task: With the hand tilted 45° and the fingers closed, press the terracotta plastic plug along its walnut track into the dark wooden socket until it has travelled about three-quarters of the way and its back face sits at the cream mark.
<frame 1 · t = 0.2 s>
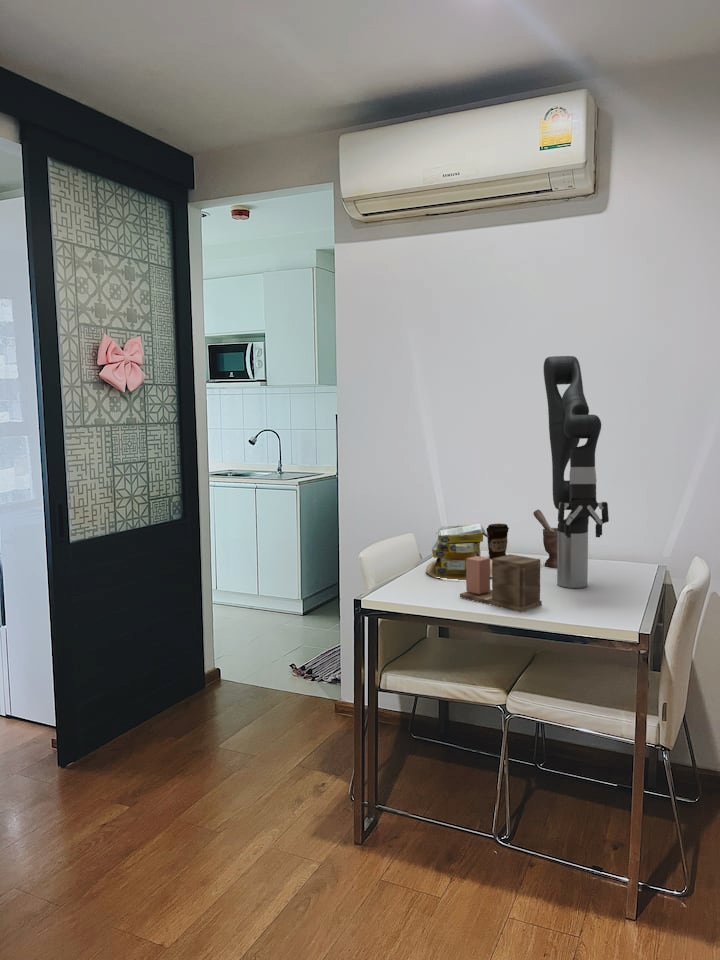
hand: (583, 537, 215), 18 cm above the table, tool pointing down, fingers open, 8 cm apart
terracotta plug: (478, 574, 218), point 7 cm above the table, slide at 0.0 cm
stacked packages on board: (462, 573, 250), on the table
mortar and pestle: (550, 566, 258), on the table
coffee cup: (497, 559, 271), on the table
walnut socket base: (497, 600, 214), on the table
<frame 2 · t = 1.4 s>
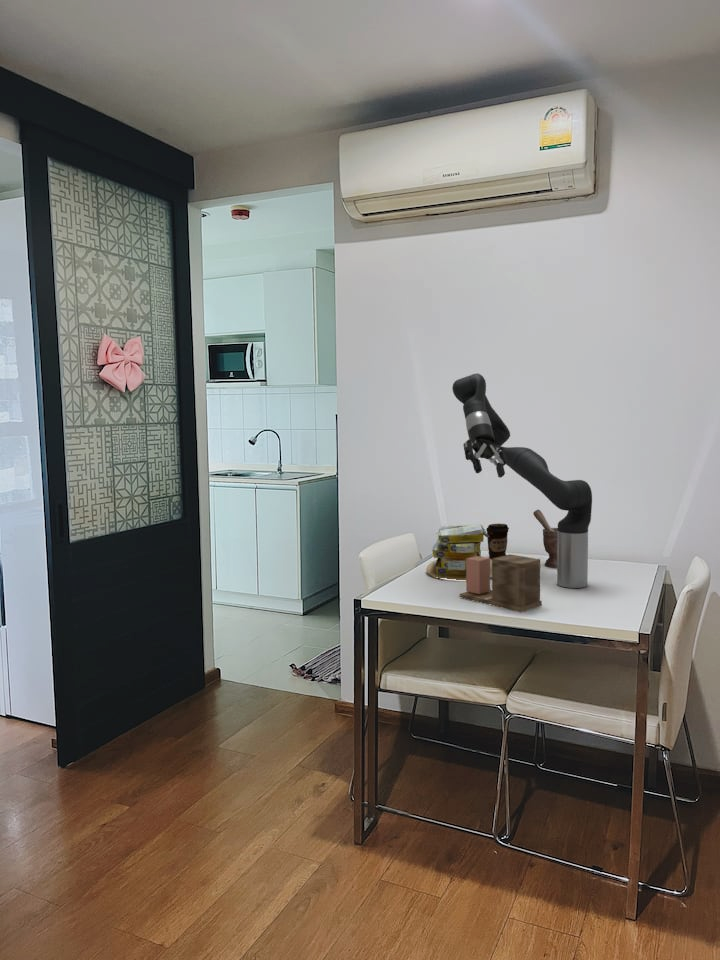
hand: (490, 474, 217), 37 cm above the table, tool tilted 35°, fingers open, 8 cm apart
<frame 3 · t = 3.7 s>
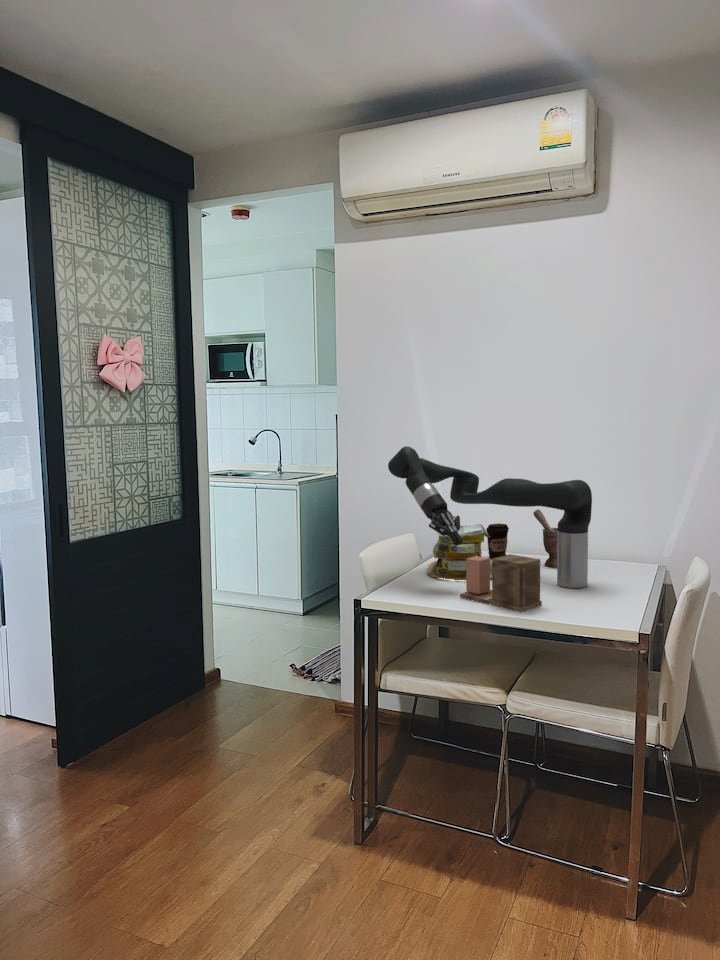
hand: (459, 543, 222), 15 cm above the table, tool tilted 45°, fingers closed
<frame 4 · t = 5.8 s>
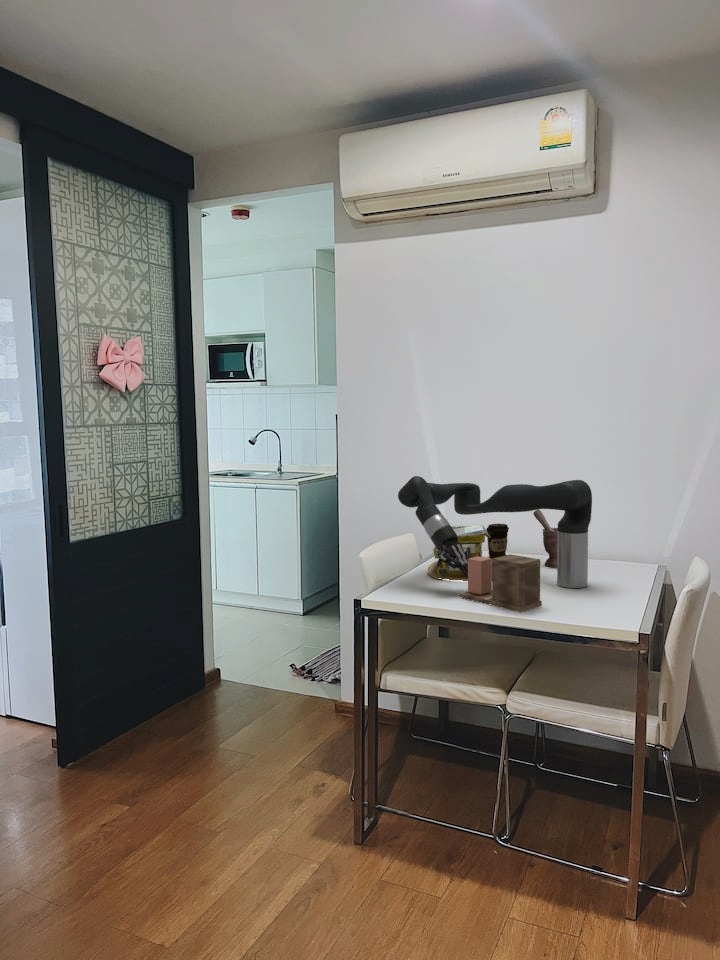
hand: (470, 576, 220), 6 cm above the table, tool tilted 45°, fingers closed
terracotta plug: (479, 575, 218), point 7 cm above the table, slide at 0.6 cm, touching gripper
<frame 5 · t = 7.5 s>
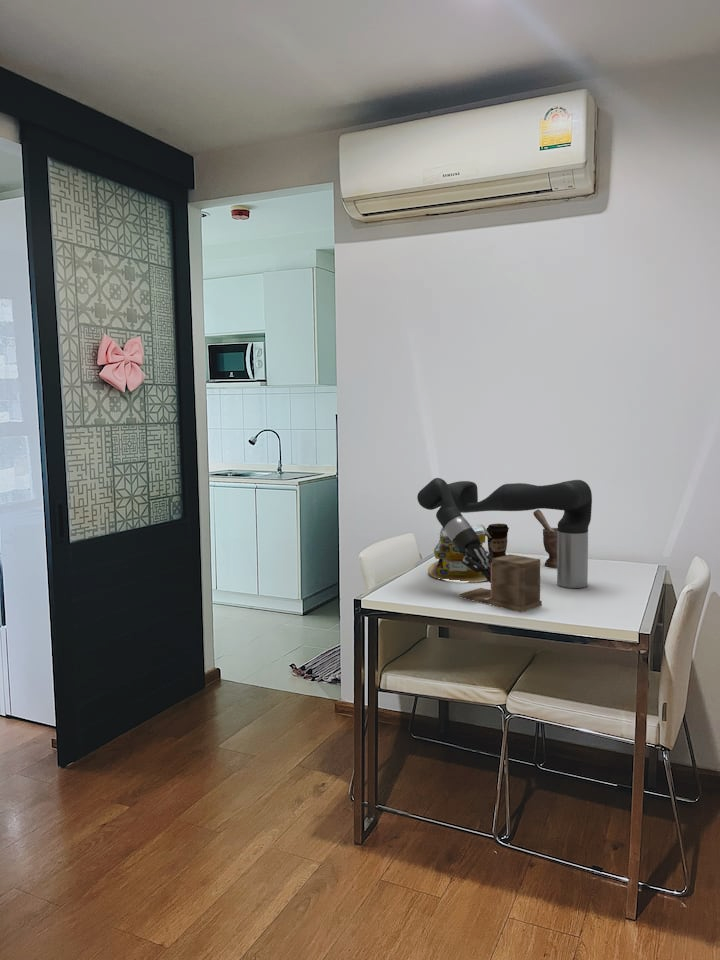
hand: (493, 580, 214), 6 cm above the table, tool tilted 45°, fingers closed
terracotta plug: (502, 579, 211), point 7 cm above the table, slide at 9.2 cm, touching gripper
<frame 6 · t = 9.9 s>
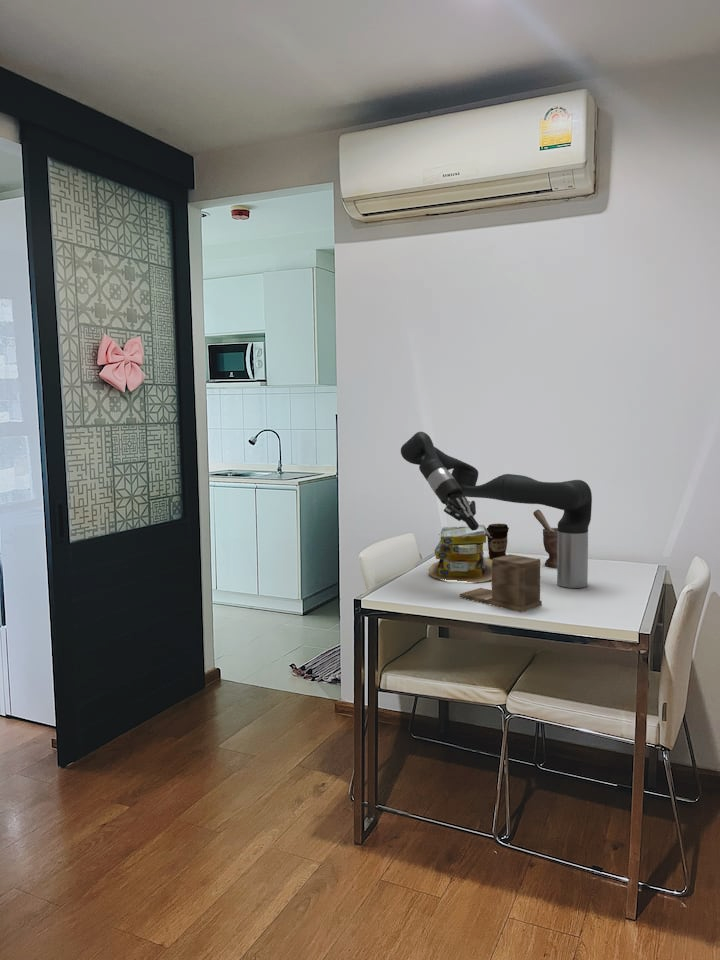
hand: (475, 528, 217), 21 cm above the table, tool tilted 45°, fingers closed
terracotta plug: (503, 580, 211), point 7 cm above the table, slide at 9.5 cm
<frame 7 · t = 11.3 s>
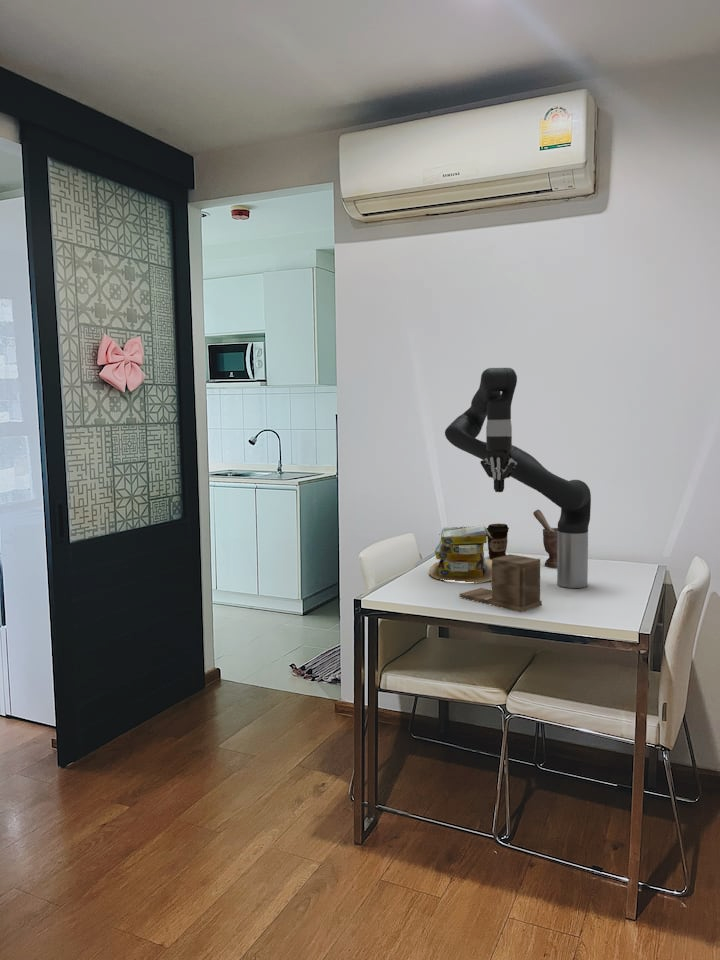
hand: (499, 491, 220), 31 cm above the table, tool pointing down, fingers closed
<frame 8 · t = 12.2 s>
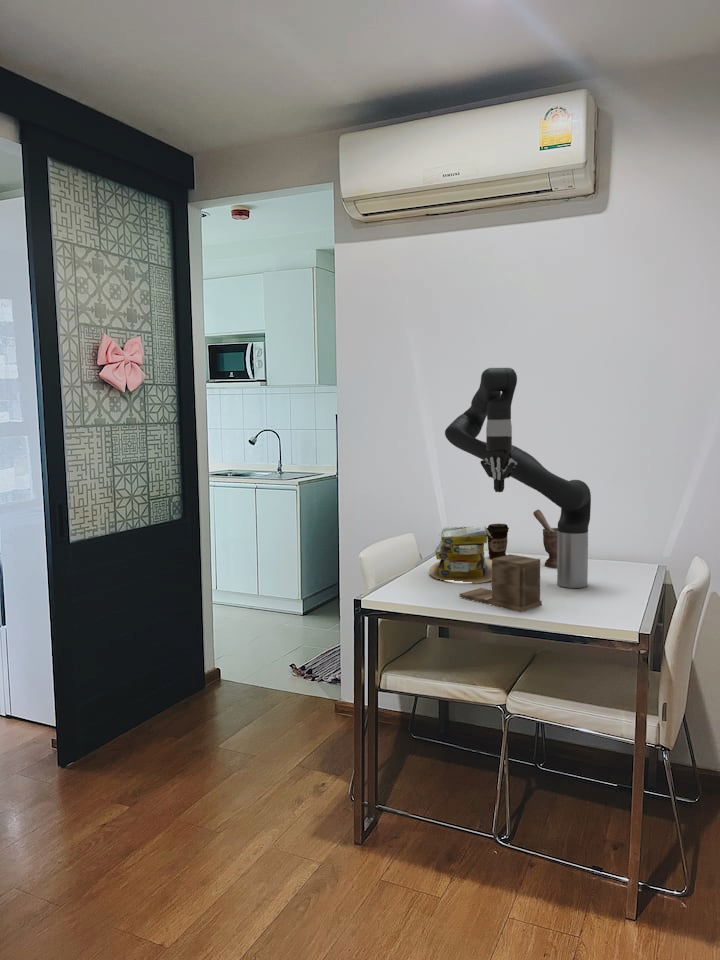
hand: (499, 491, 220), 31 cm above the table, tool pointing down, fingers closed
at the end: terracotta plug slide at 9.5 cm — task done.
